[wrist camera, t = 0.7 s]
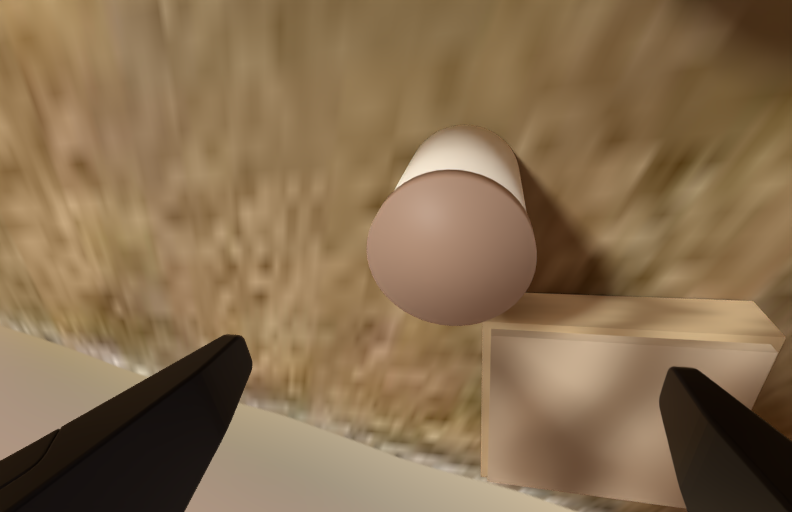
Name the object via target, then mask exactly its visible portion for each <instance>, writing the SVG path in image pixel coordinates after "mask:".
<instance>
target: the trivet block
mask: <svg viewBox="0 0 792 512" xmlns="http://www.w3.org/2000/svg"><path fill="white" fill-rule="evenodd" d="M785 339H786V337H785V336H784V335H783V334H782V332H781V331H780V330H779V329H778V328H777V327H776V326H775V325H774V324H773V323H772V322H771V320H770V319H769V318H768V317H767V316H766V315H765V314H764V313H763V312H762V311H761V309H760V308H759V307H758V306H757V305H756V304H755V303H754V302H753V301H737V300H710V299H682V298H655V297H627V296H600V295H572V294H545V293H524V295H523V296H522V297H521V298H520V299H519V301H518V302H517V303H516V304H515V305H513V306H512V307H511V308H510V309H508V310H507V311H505V312H504V313H502V314H501V315H499V316H497V317H494V318H492V319H490V320H487V321H484V322H483V331H482V419H481V477H488V482H496V483H503V484H510V485H518V486H525V487H532V488H540V489H547V490H554V491H562V492H569V493H576V494H583V495H591V496H598V497H605V498H613V499H620V500H627V501H635V502H642V503H649V504H657V505H664V506H671V507H678V508H686V506H685V503H684V500H683V497H682V494H681V491H680V488H679V485H678V481H677V477H676V473H675V469H674V465H673V461H672V457H671V453H670V449H669V445H668V441H667V437H666V433H665V429H664V425H663V421H662V417H661V412H660V408H659V396H660V393H661V389H662V386H663V383H664V380H665V377H666V374H667V371H668V369H669V368H670V367H673V366H678V367H692V368H696V369H698V370H699V371H701V372H702V373H703V374H705V375H706V376H707V377H709V378H710V379H711V380H712V381H714V382H715V383H716V384H718V385H719V386H720V387H722V388H723V389H724V390H725V391H727V392H728V393H729V394H731V395H732V396H733V397H735V398H736V399H737V400H739V401H740V402H741V403H742V404H744V405H745V406H746V407H748V408H749V409H750V410H751V409H752V407H753V405H754V403H755V401H756V399H757V397H758V395H759V393H760V391H761V389H762V387H763V385H764V382H765V380H766V378H767V376H768V374H769V372H770V370H771V368H772V366H773V364H774V362H775V360H776V357H777V355H778V353H779V351H780V349H781V347H782V345H783V343H784V341H785Z"/></svg>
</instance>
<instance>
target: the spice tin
mask: <svg viewBox="0 0 792 512" xmlns="http://www.w3.org/2000/svg"><path fill="white" fill-rule="evenodd" d="M367 259H368V263H369V267H370V270H371V273H372V275H373V277H374V279H375V281H376V283H377V285H378V286H379V288H380V289H381V290H382V292H383V293H384V294H385V295H386V296H387V297H388V299H390V300H391V301H392V302H393V303H394V304H395V305H396V306H398V307H399V308H401V309H402V310H403V311H405V312H407V313H409V314H410V315H412V316H414V317H417V318H419V319H421V320H424V321H428V322H431V323H436V324H440V325H449V326H462V325H472V324H476V323H481V322H484V321H487V320H490V319H492V318H494V317H497V316H499V315H501V314H502V313H504V312H505V311H507V310H508V309H510V308H511V307H512V306H513V305H515V304H516V303H517V302H518V301H519V299H520V298H521V297H522V296H523V295H524V293H525V292H526V291H527V289H528V287H529V285H530V283H531V281H532V279H533V276H534V273H535V269H536V263H537V249H536V243H535V237H534V232H533V227H532V224H531V221H530V218H529V216H528V214H527V212H526V206H525V200H524V194H523V189H522V183H521V177H520V171H519V166H518V162H517V159H516V157H515V155H514V153H513V151H512V150H511V148H510V147H509V145H508V144H507V143H506V142H505V141H504V140H503V139H502V138H501V137H499V136H498V135H497V134H495V133H493V132H492V131H490V130H487V129H485V128H482V127H478V126H473V125H456V126H451V127H447V128H445V129H442V130H440V131H438V132H436V133H434V134H433V135H431V136H430V137H429V138H427V139H426V140H425V141H424V142H423V143H422V144H421V145H420V147H419V148H418V149H417V151H416V153H415V154H414V156H413V158H412V160H411V161H410V163H409V165H408V167H407V169H406V170H405V172H404V174H403V176H402V177H401V179H400V181H399V183H398V184H397V186H396V188H395V190H394V191H393V192H392V193H391V194H390V195H389V196H388V198H387V199H386V200H385V201H384V203H383V205H382V206H381V208H380V210H379V211H378V213H377V215H376V217H375V218H374V220H373V222H372V225H371V227H370V230H369V234H368V238H367Z"/></svg>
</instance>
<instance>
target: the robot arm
mask: <svg viewBox="0 0 792 512" xmlns="http://www.w3.org/2000/svg"><path fill="white" fill-rule="evenodd" d="M251 370H252V359H251V356H250V353H249V350H248V348H247V345H246V342H245V339H244V338H243V337H242V336H240V335H230V334H227V335H223V336H221V337H219V338H218V339H216V340H214V341H212V342H211V343H209V344H207V345H205V346H203V347H202V348H200V349H198V350H196V351H195V352H193V353H191V354H189V355H188V356H186V357H184V358H182V359H180V360H179V361H177V362H175V363H173V364H172V365H170V366H168V367H166V368H165V369H163V370H161V371H159V372H157V373H156V374H154V375H152V376H150V377H149V378H147V379H145V380H143V381H142V382H140V383H138V384H136V385H135V386H133V387H131V388H129V389H127V390H126V391H124V392H122V393H120V394H119V395H117V396H115V397H113V398H112V399H110V400H108V401H106V402H104V403H103V404H101V405H99V406H97V407H96V408H94V409H92V410H90V411H89V412H87V413H85V414H83V415H81V416H80V417H78V418H76V419H74V420H73V421H71V422H69V423H67V424H66V425H64V426H62V427H61V429H57V430H55V431H53V432H51V433H50V434H48V435H46V436H44V437H43V438H41V439H39V440H37V441H36V442H34V443H32V444H30V445H28V446H26V447H25V448H23V449H21V450H19V451H17V452H16V453H14V454H12V455H10V456H8V457H6V458H5V459H3V460H1V461H0V512H184V511H185V510H186V508H187V506H188V504H189V502H190V500H191V498H192V496H193V494H194V492H195V491H196V489H197V487H198V485H199V483H200V481H201V479H202V477H203V475H204V473H205V471H206V470H207V468H208V466H209V464H210V462H211V460H212V458H213V456H214V454H215V453H216V451H217V449H218V447H219V445H220V443H221V441H222V439H223V437H224V435H225V433H226V431H227V429H228V427H229V424H230V422H231V420H232V417H233V415H234V412H235V410H236V408H237V405H238V403H239V400H240V398H241V395H242V393H243V390H244V388H245V385H246V383H247V381H248V378H249V376H250V373H251ZM659 408H660V412H661V417H662V421H663V425H664V429H665V433H666V437H667V441H668V445H669V449H670V453H671V457H672V461H673V465H674V469H675V473H676V477H677V481H678V485H679V488H680V491H681V494H682V497H683V500H684V503H685V506H686V509H687V511H688V512H792V441H791V440H789V439H788V438H787V437H785V436H784V435H783V434H782V433H780V432H779V431H778V430H776V429H775V428H774V427H772V426H771V425H770V424H769V423H767V422H766V421H765V420H763V419H762V418H761V417H759V416H758V415H757V414H755V413H754V412H753V411H752V410H750V409H749V408H748V407H746V406H745V405H744V404H742V403H741V402H740V401H739V400H737V399H736V398H735V397H733V396H732V395H731V394H729V393H728V392H727V391H725V390H724V389H723V388H722V387H720V386H719V385H718V384H716V383H715V382H714V381H712V380H711V379H710V378H709V377H707V376H706V375H705V374H703V373H702V372H701V371H699V370H698V369H696V368H692V367H678V366H673V367H670V368H669V369H668V371H667V374H666V377H665V380H664V383H663V386H662V389H661V393H660V396H659Z"/></svg>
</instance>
